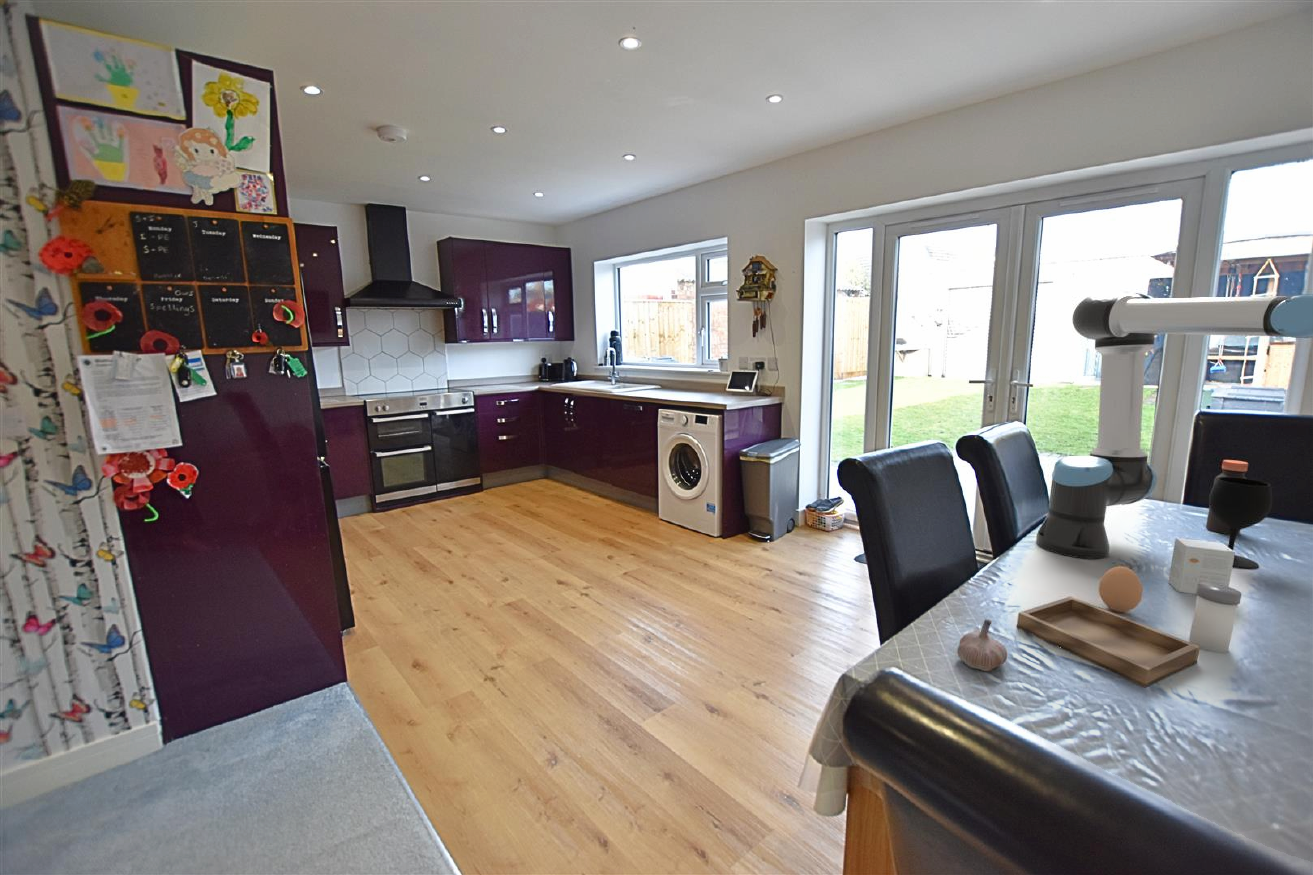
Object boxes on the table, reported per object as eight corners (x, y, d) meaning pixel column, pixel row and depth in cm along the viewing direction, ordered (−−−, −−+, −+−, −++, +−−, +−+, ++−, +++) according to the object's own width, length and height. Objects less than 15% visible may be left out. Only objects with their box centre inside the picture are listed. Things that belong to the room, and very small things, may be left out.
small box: (1214, 588, 121) (1223, 542, 119) (1227, 599, 116) (1236, 551, 114) (1166, 581, 124) (1174, 536, 122) (1177, 592, 119) (1185, 545, 117)
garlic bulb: (998, 654, 96) (1003, 611, 94) (1015, 679, 89) (1021, 633, 87) (950, 648, 97) (954, 606, 96) (963, 673, 90) (968, 627, 89)
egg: (1147, 617, 108) (1155, 572, 107) (1118, 619, 107) (1126, 575, 106) (1115, 601, 115) (1121, 559, 113) (1087, 603, 114) (1093, 561, 112)
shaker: (1181, 640, 100) (1191, 585, 98) (1196, 634, 102) (1206, 580, 100) (1221, 656, 95) (1232, 598, 93) (1236, 649, 97) (1247, 592, 95)
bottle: (1199, 526, 161) (1211, 458, 157) (1225, 527, 160) (1238, 459, 156) (1218, 534, 154) (1232, 464, 151) (1246, 535, 153) (1260, 464, 150)
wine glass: (1211, 565, 133) (1227, 484, 130) (1190, 550, 143) (1204, 474, 139) (1269, 572, 129) (1287, 489, 126) (1243, 556, 139) (1259, 478, 135)
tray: (1016, 627, 104) (1018, 612, 104) (1068, 610, 111) (1070, 596, 110) (1144, 687, 87) (1147, 669, 86) (1197, 662, 93) (1200, 646, 93)
